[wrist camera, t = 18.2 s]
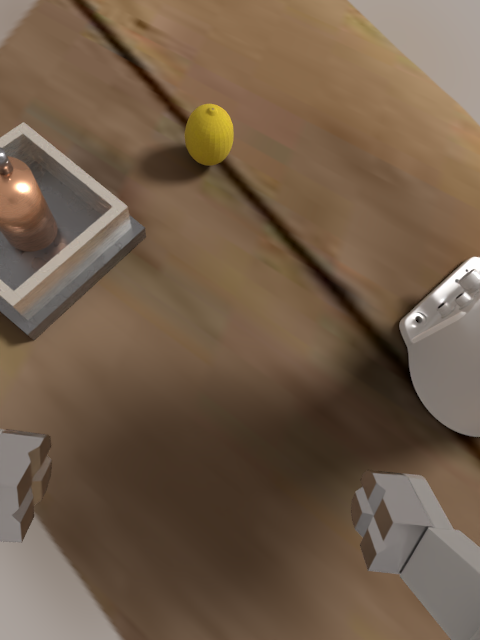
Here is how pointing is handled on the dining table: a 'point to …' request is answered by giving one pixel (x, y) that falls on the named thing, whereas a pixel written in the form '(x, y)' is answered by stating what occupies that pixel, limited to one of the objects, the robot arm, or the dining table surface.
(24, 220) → the copper upright cylinder
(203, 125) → the lemon
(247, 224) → the dining table surface
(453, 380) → the robot arm
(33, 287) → the open square box
